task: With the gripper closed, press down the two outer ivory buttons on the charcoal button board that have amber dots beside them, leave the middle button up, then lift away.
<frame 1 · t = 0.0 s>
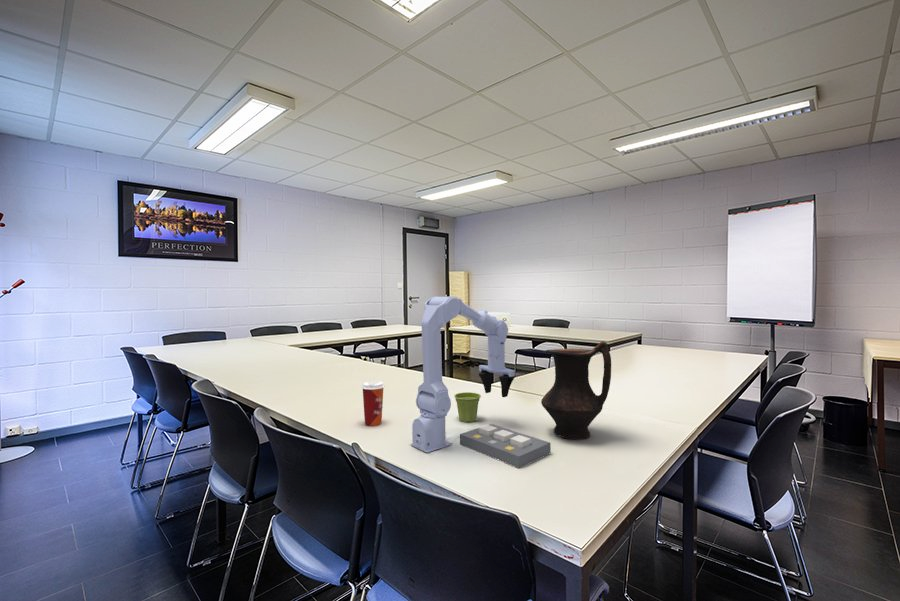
hand: (496, 394, 134), 10 cm above the table, tool pointing down, fingers open, 7 cm apart
end button a: (488, 432, 117), point 3 cm above the table, slide at 0.0 cm
paper cup: (373, 424, 135), on the table
jug: (575, 435, 123), on the table
middle button: (503, 438, 112), point 3 cm above the table, slide at 0.0 cm
button board: (503, 448, 112), on the table
plant pot: (467, 420, 139), on the table
end button b: (520, 444, 108), point 3 cm above the table, slide at 0.0 cm
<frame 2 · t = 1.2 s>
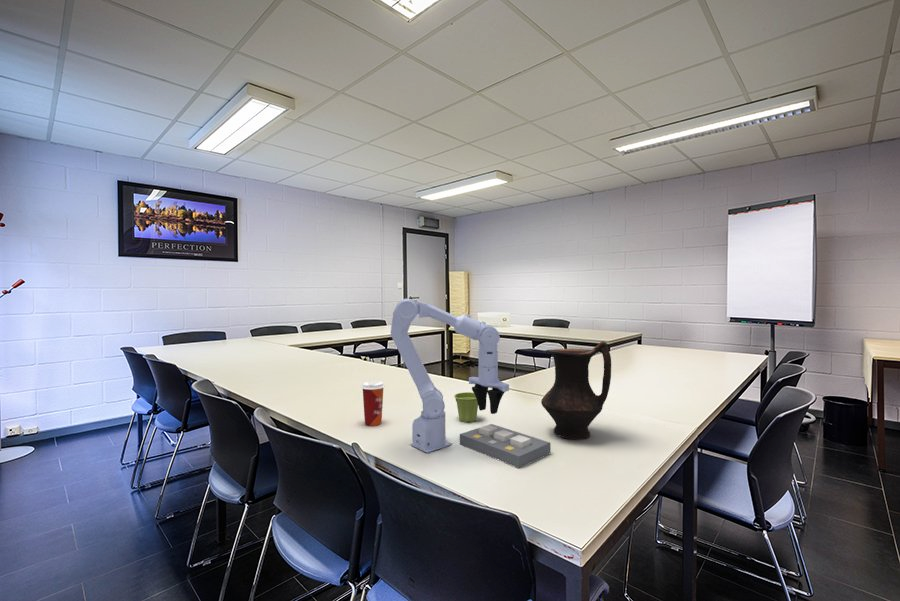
hand: (488, 411, 117), 9 cm above the table, tool pointing down, fingers open, 4 cm apart
nothing on the table moved.
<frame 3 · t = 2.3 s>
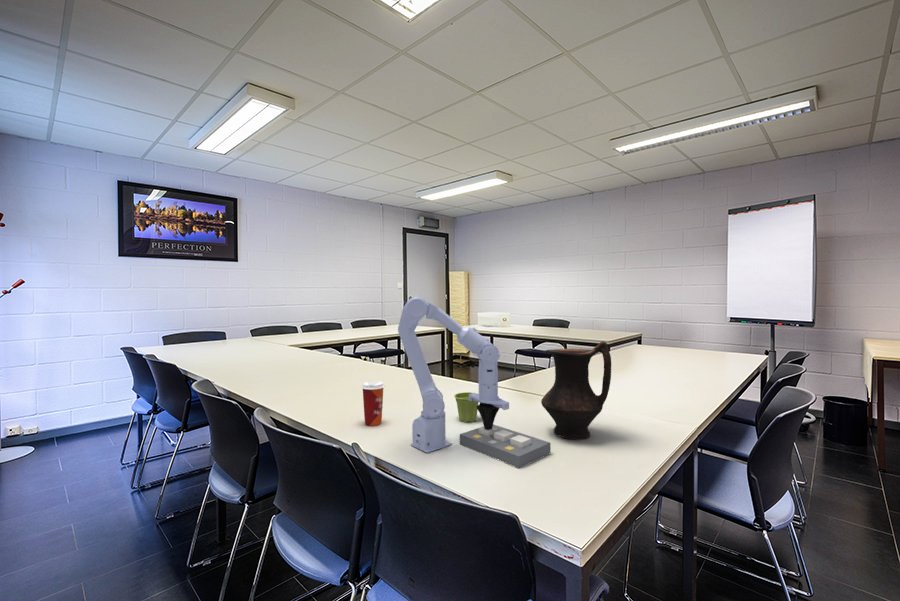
hand: (488, 428, 117), 4 cm above the table, tool pointing down, fingers closed, pressing on end button a
end button a: (488, 433, 117), point 3 cm above the table, slide at 0.3 cm, touching gripper
everything else where it was.
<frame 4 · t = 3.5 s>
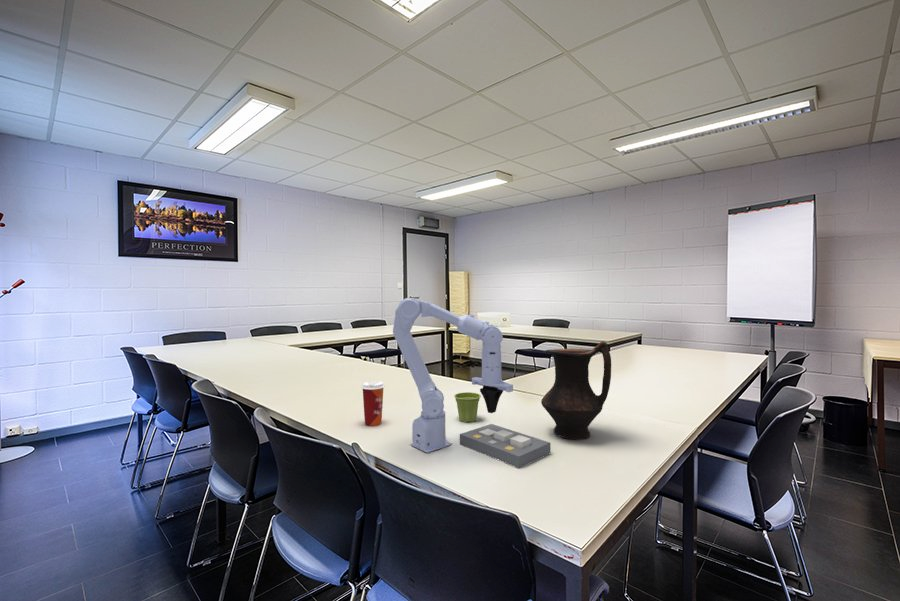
hand: (491, 412, 116), 9 cm above the table, tool pointing down, fingers closed
end button a: (488, 436, 117), point 2 cm above the table, slide at 1.2 cm
everything else where it was.
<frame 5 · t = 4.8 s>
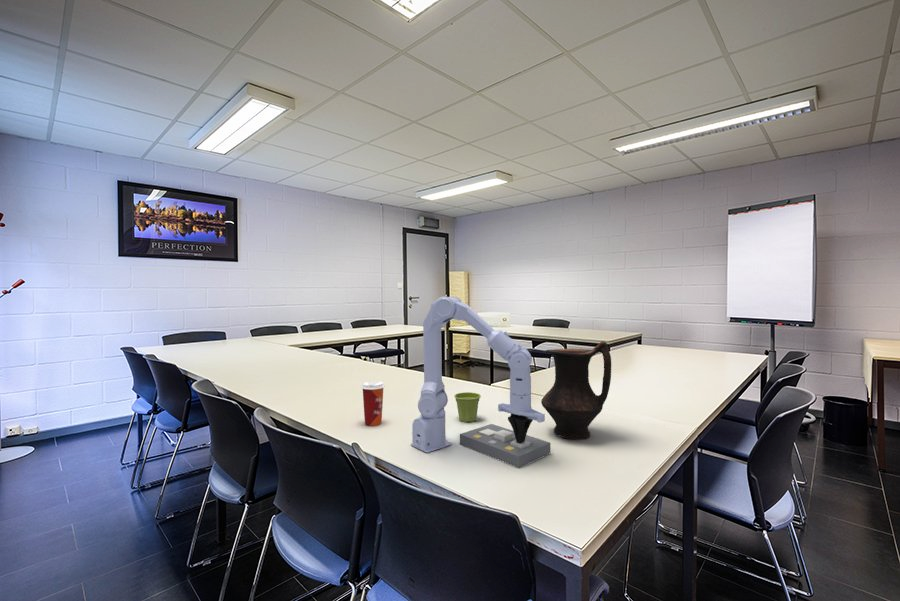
hand: (520, 442, 108), 3 cm above the table, tool pointing down, fingers closed, pressing on end button b
end button b: (520, 447, 108), point 2 cm above the table, slide at 1.0 cm, touching gripper
everything else where it was.
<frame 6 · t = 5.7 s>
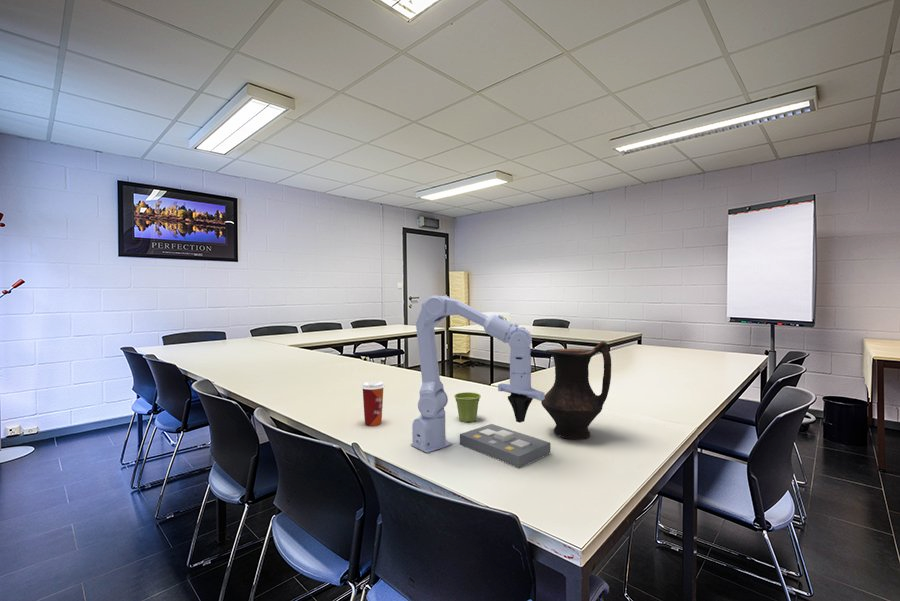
hand: (520, 421, 108), 9 cm above the table, tool pointing down, fingers closed
end button b: (520, 448, 108), point 2 cm above the table, slide at 1.2 cm
everything else where it was.
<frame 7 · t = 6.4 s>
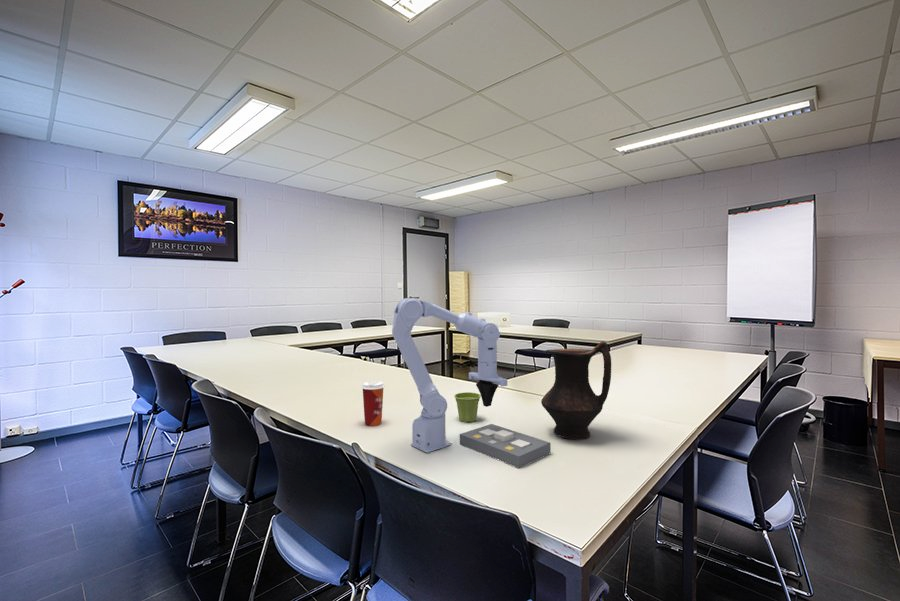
hand: (487, 405, 120), 10 cm above the table, tool pointing down, fingers closed
nothing on the table moved.
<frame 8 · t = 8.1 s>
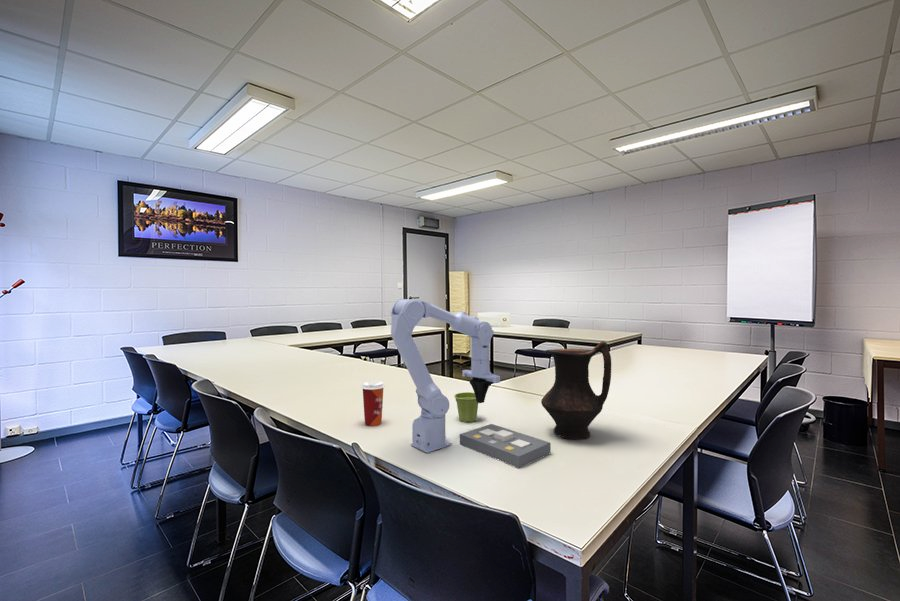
hand: (480, 402, 123), 10 cm above the table, tool pointing down, fingers closed
nothing on the table moved.
at the end: end button a slide at 1.2 cm; end button b slide at 1.2 cm; middle button slide at 0.0 cm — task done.
